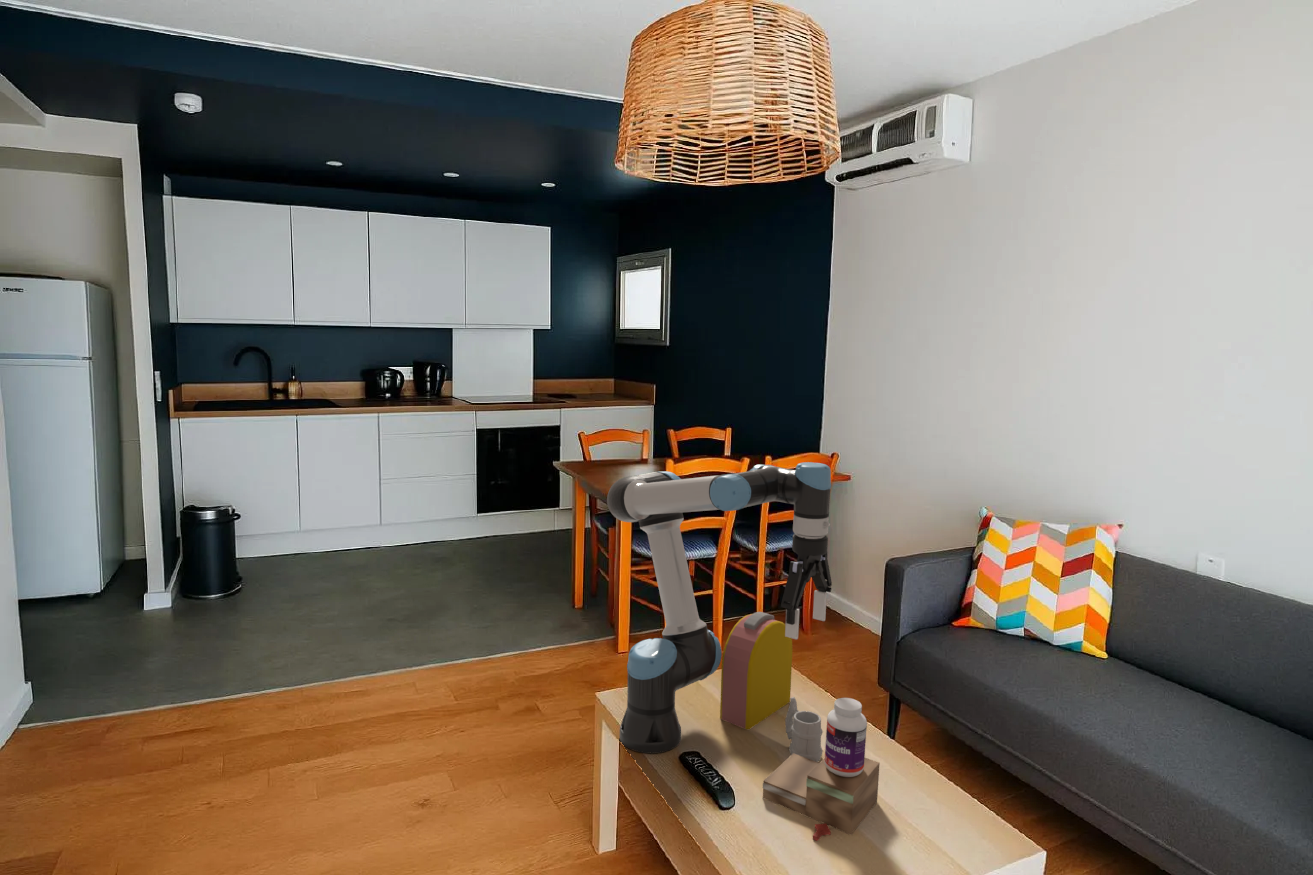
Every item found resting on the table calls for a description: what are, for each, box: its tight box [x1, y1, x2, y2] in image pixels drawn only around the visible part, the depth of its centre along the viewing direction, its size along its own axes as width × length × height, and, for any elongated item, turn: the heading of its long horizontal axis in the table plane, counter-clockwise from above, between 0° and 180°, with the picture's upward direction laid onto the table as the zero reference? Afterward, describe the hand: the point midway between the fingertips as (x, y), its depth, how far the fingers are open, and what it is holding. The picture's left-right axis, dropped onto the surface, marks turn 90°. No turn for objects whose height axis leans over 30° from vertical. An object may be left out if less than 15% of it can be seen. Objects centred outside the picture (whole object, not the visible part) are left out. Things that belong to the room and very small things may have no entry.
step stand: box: [762, 753, 880, 842], centre depth 165 cm, size 20×20×9 cm
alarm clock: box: [719, 611, 793, 730], centre depth 206 cm, size 21×9×26 cm, turn 140°
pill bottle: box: [824, 697, 868, 777], centre depth 163 cm, size 8×8×14 cm
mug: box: [784, 696, 824, 763], centre depth 186 cm, size 8×12×12 cm, turn 26°
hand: (805, 628), depth 172 cm, fingers open, 13 cm apart
